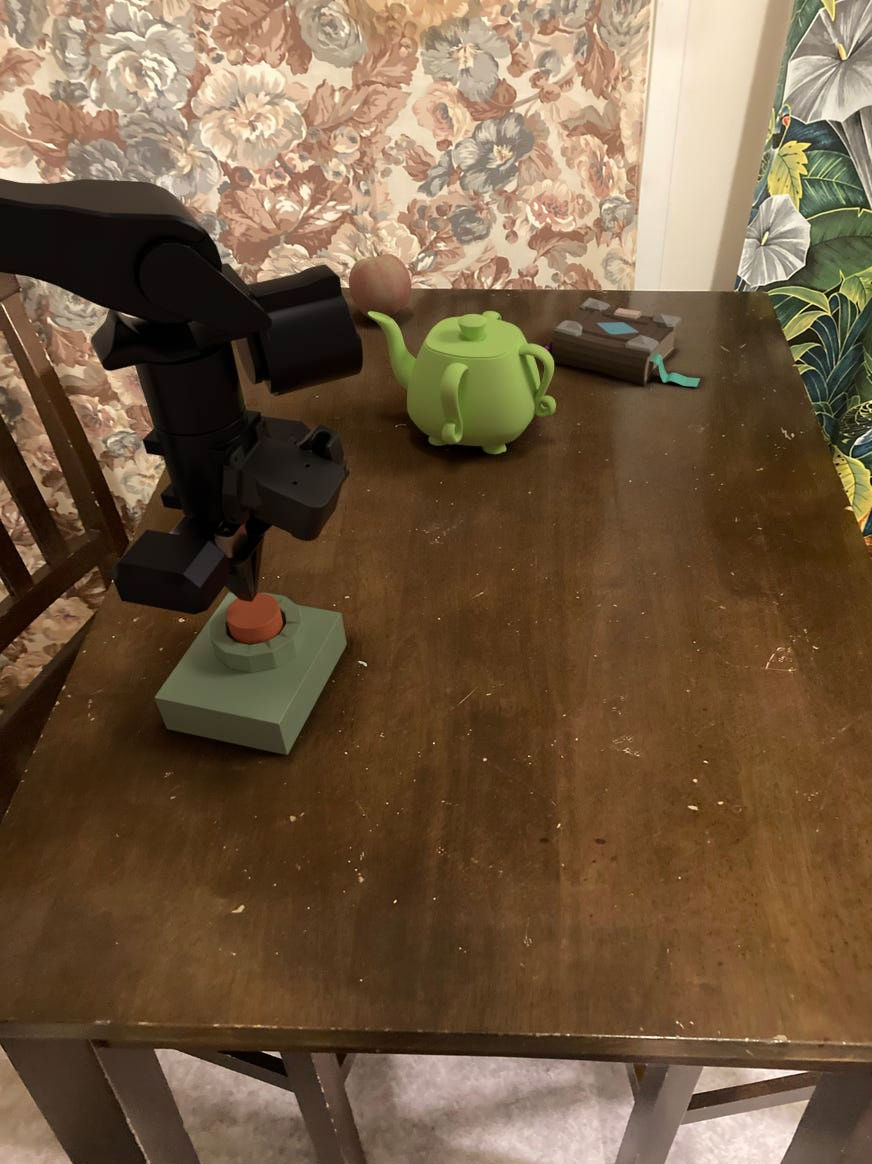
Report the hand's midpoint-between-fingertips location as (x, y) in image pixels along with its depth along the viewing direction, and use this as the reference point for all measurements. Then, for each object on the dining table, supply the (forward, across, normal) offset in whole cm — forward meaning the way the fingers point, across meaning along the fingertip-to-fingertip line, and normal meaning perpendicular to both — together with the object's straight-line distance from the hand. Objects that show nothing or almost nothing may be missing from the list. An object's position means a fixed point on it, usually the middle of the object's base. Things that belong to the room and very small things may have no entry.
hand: (248, 598), depth 66 cm
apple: (+8, +63, +13) cm, 65 cm away
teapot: (+8, +39, -5) cm, 40 cm away
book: (+8, +59, -20) cm, 63 cm away
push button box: (+8, -1, 0) cm, 8 cm away
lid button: (+3, 0, 0) cm, 3 cm away
